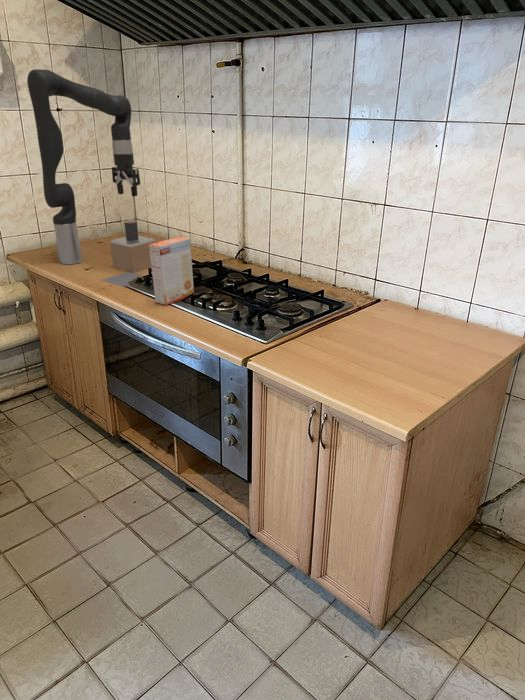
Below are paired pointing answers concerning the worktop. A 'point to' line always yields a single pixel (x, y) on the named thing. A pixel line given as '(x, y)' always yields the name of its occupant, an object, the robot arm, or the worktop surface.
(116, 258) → the open storage bin
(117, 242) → the lid
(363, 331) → the worktop surface
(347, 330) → the worktop surface
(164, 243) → the cracker box
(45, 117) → the robot arm
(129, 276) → the mat
